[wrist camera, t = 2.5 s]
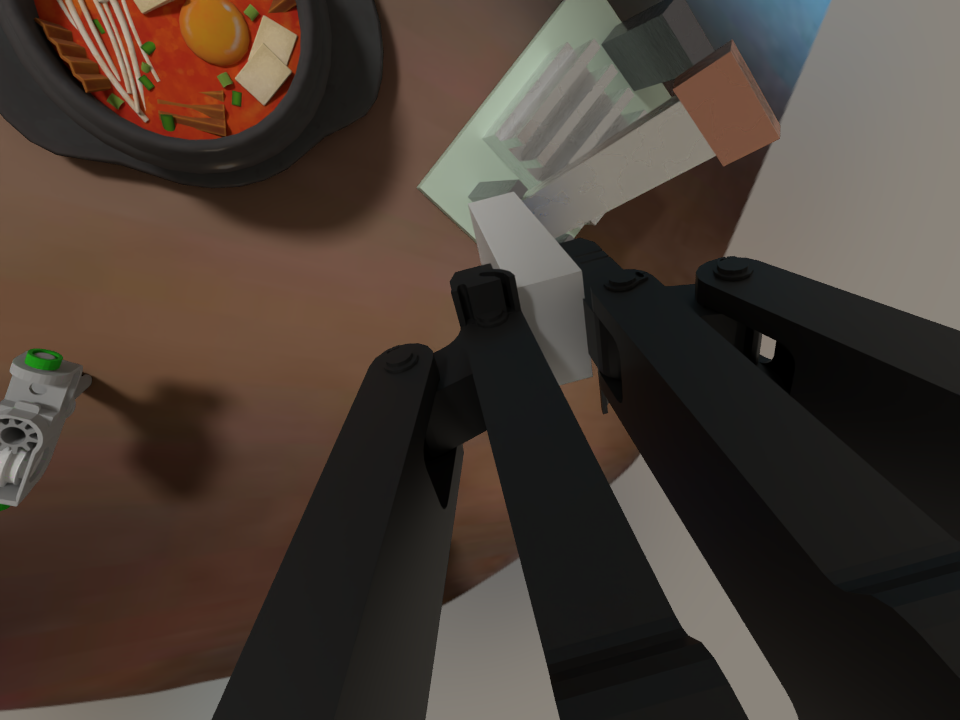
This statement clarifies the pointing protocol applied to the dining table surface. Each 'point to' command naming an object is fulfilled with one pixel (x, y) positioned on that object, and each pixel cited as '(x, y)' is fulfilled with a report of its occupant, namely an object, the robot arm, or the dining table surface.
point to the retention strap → (662, 143)
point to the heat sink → (588, 96)
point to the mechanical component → (34, 418)
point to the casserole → (188, 81)
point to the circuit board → (469, 153)
